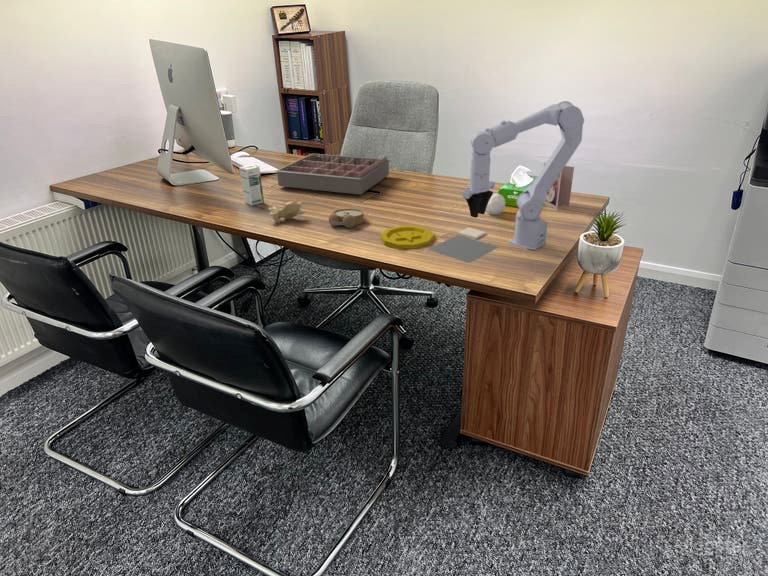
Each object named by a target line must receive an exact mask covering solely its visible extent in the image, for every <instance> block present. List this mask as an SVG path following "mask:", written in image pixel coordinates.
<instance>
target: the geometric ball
mask: <svg viewBox="0 0 768 576" xmlns="http://www.w3.org/2000/svg"><path fill="white" fill-rule="evenodd" d="M505 208H506V199H505V198H504V196H503V194H499V193H497V192H493V195H492V196H491V198H490V200H489V202H488V204H487V207H486V211H485V212H486V213H487V214H489V215H491V216H496V215H500V214H502V213H503V212H504V210H505Z"/></svg>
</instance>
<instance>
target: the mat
mask: <svg viewBox="0 0 768 576" xmlns="http://www.w3.org/2000/svg"><path fill="white" fill-rule="evenodd" d="M498 248H499V246H497V245H493V244H490V243H487V242H484V241H479V240H477V239H473V238H470V237H466V236H463V235H459V234H456V235H455V236H452V237H450V238H448V239H446V240H445V241H442V242H440V243H438V244H436V245H434V246H432V247H429V248H428V249H427V251H432V252H434V253H436V254H437V253H438V254H440V255H444V256H445V257H449V258H453V259H456V260H459V261H462V262H465V263H467V264H471V263H473V262H474V261H476V260H478V259H480V258H482V257H483V256H486V255H487V254H489V253H490V252H492V251H494V250H496V249H498Z"/></svg>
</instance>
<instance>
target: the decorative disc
mask: <svg viewBox="0 0 768 576" xmlns="http://www.w3.org/2000/svg"><path fill="white" fill-rule="evenodd" d="M434 239H435V234H434V233H433V232H432V231H431V229H430V228H428V227H427V228H426V227H422V226H419V225H397V226H394V227H393V226H392V227H390V228H389V227H388V228H386V229H385V230H384V231H383V232H381V234H380V240H381V242H382V243H383V245H384V246H386V247H388V248H392V249H397V250H406V249H416V248H421V247H424V246H428V245H430V243H432V242H433V240H434Z"/></svg>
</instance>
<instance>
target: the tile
mask: <svg viewBox="0 0 768 576" xmlns="http://www.w3.org/2000/svg"><path fill="white" fill-rule="evenodd" d="M486 234H487V232H486V231H483V230H481V229H480V230H479V229H476V228H472V227H469V226H468V227H466V228H464V229H462V230H460V231H458V232H457V235H460V236H463V237H467V238H470V239H474V240H477V239H479V238H481V237H483V236H486Z"/></svg>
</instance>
